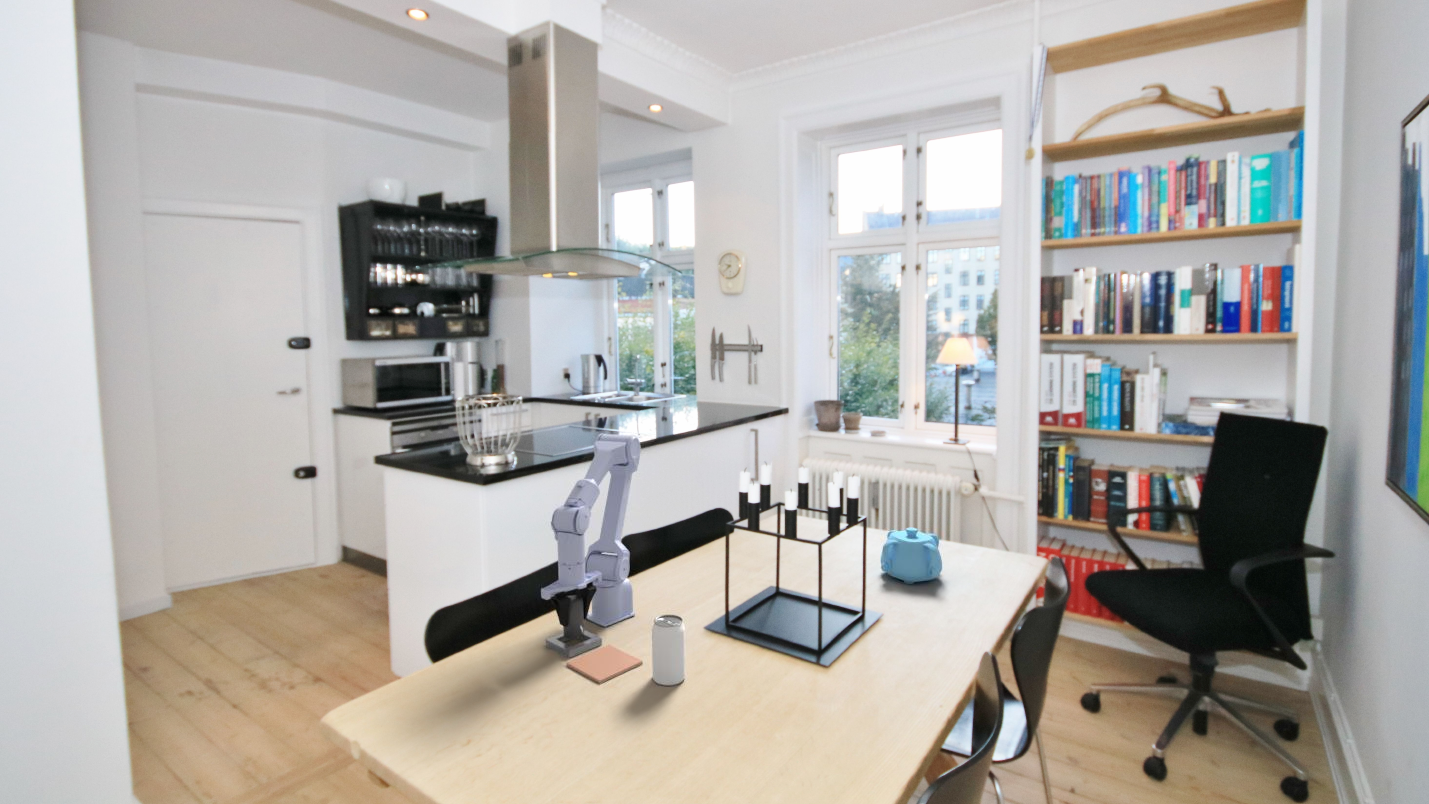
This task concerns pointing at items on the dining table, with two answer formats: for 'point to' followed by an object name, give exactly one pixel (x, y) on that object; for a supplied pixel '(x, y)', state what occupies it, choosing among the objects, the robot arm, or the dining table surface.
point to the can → (668, 650)
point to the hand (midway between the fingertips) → (573, 621)
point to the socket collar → (559, 646)
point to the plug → (575, 618)
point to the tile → (604, 663)
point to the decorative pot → (911, 555)
